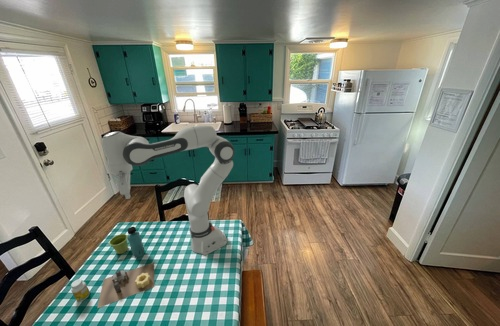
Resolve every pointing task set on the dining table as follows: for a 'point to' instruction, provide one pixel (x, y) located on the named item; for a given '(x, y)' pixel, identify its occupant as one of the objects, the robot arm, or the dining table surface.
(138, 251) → the beverage bottle
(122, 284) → the gear board
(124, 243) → the plant pot
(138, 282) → the loose gear
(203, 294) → the dining table surface
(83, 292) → the supplement bottle
